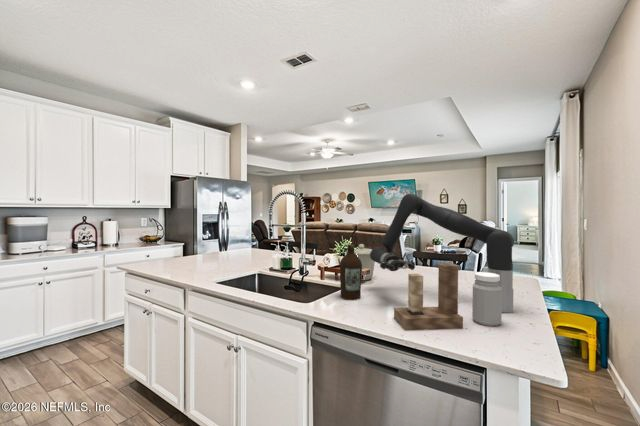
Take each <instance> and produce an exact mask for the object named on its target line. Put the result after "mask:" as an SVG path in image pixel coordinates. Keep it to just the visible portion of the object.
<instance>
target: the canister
mask: <svg viewBox="0 0 640 426" xmlns="http://www.w3.org/2000/svg"><path fill="white" fill-rule="evenodd" d="M357 248H358V249H357V250H356V251H354V253H355V254H356V253H358V254H357V255H358V258H359V259H360V260H361V263H362V269H364V268H370V269H371V272H370V274H368V275H366V276H365V280H364V281H368V280H372V278H373V276H374V270H375V263H376V262H375V261H373V260H372V259H371V258H370V252H371V251H372V250H373V249H372V248H365V244H363V243H360V244H358V247H357Z"/></svg>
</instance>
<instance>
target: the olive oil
mask: <svg viewBox="0 0 640 426" xmlns="http://www.w3.org/2000/svg"><path fill="white" fill-rule="evenodd" d="M354 248H355V245H354V244H347V248H346V249H347V250H346V253H345V255H343V257H342V258H341V260H340V261H339V278H340V279H339V280H340V297H341V299H343V300H349V301H350V300H351V301H354V300H355V301H356V300H359V299H360V298H361V293H362V288H361V287H362V280H361V274H362V263H361V260H360V259H359V258H358V257H357V255H356V254H355V253H354Z"/></svg>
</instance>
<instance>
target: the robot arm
mask: <svg viewBox="0 0 640 426" xmlns="http://www.w3.org/2000/svg"><path fill="white" fill-rule="evenodd" d="M412 214H413V215H416V216H420V217H422V218H425V219H428V220H430V221H431V222H433V223H434V224H435V225H438V226H439V227H440V228H443V229H445V230H447V231H449V232H452V233H455V234H457V235H461V236H464V237H468V238H471V239H472V238H473V239H475V240H478V241H480V242H482V243H484V244H486V262H487V267H488V273H495V274H498V275H499V276H500V281H498V282H499V283H500V285H499V286H500V287H501V289H502V313H504V314H505V313H508V314H509V313H510V314H511V313H514V288H513V287H514V286H513V284H514V283H513V281H514V277H513V276H514V275H513V274H514V272H513V271H514V263H513V247H514V244H515V239H514V237H513V235H512V234H511V233H509V231H506V230H503V229H500V228H495V227H492V226H489V225H486V224H483V223H481V222H480V221H477V220H476V219H474V218H472V217H469V216H467V215H465V214H463V213H461V212H458V211H456V210H454V209H453V210H452V209H450V208H447V207H443V206H439V205H435V204H432V203H430V202H429V201H427V200H424V199H423V198H421V197H420V196H418V195H416V194H413V193H407V194H405V195H404V196H402V198H401V200H400V202H399V205H398V207H397V210H396V213H395V215H394V217H393V219H392V222H391V224H390V226H389V227H388V228H387V230H386V233H385V234H384V236H383V238H381V241H380V244H381V245H382V246H383V247H384V248H386V250H383V249H381V248H379V247H374V248H373V249H372V251H371V252H370V258H371V259H372V260H373V261H375V263H378V264H379V267H380V269H382V270H386V269H387V270H388V271H390V272H396V271H398V270H401V269H402V270H407V269H408V270H411V271H414V270H415V269H416V265H415V264H416V262H415V261H411V260H410V259H409V260H402V258H401V257H400V256H399V255H397V254H394V253H393V251H394V248H395V246H396V244H397V243H398V241H399V240H400V238H401V236H402V233H403V230H404V226H405V224H406V221H407V220H408V219H409V217H410V215H412Z"/></svg>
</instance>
